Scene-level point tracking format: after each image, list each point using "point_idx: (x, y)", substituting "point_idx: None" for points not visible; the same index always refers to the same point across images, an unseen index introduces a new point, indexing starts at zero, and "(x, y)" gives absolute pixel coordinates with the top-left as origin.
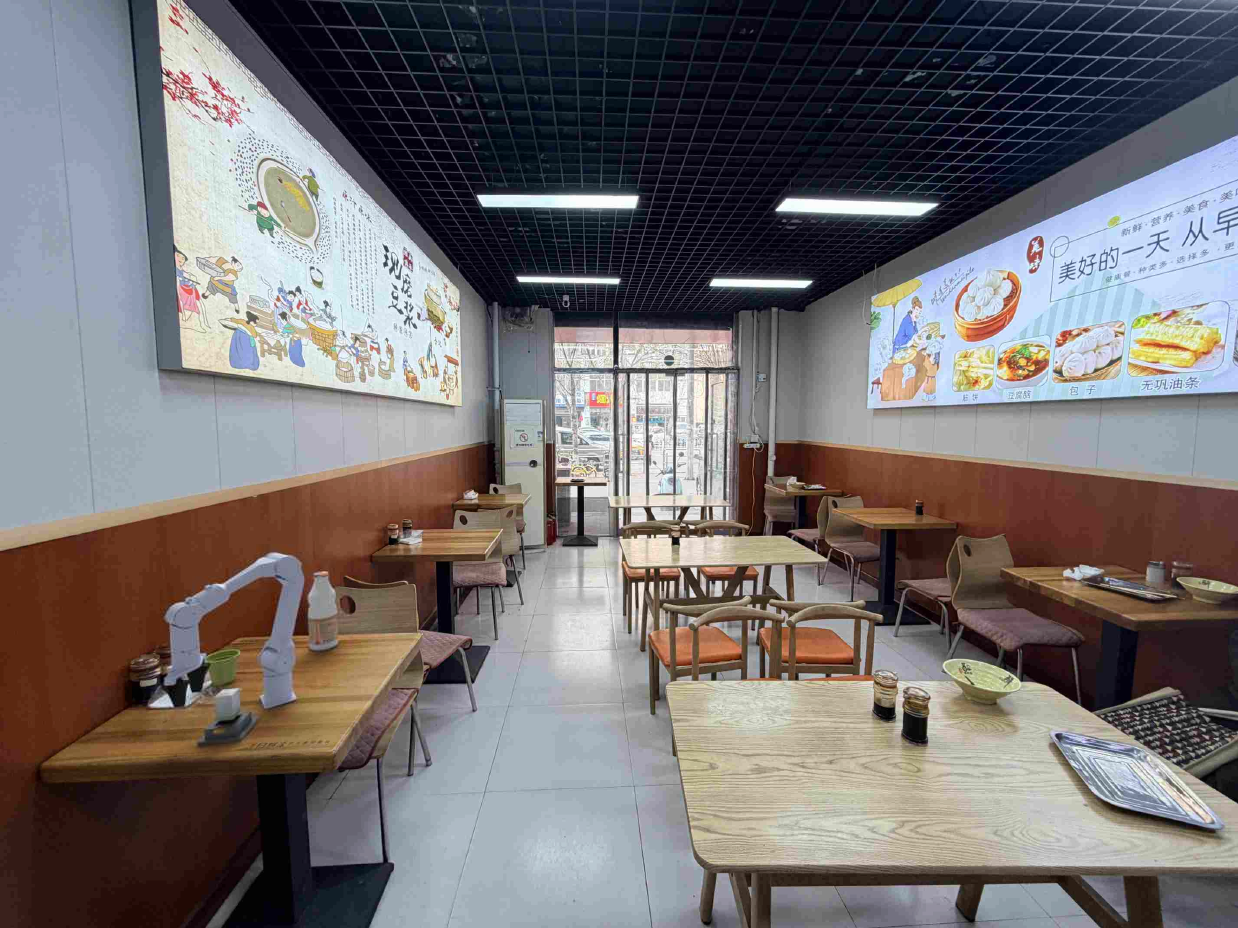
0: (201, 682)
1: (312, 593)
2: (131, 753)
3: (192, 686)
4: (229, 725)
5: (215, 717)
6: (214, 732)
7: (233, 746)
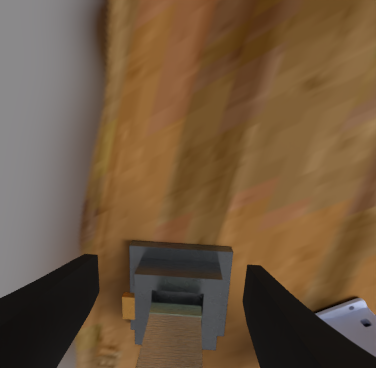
0: (259, 362)
1: None
2: (133, 88)
3: (260, 295)
4: (142, 325)
5: (149, 312)
6: (123, 297)
7: (113, 314)
